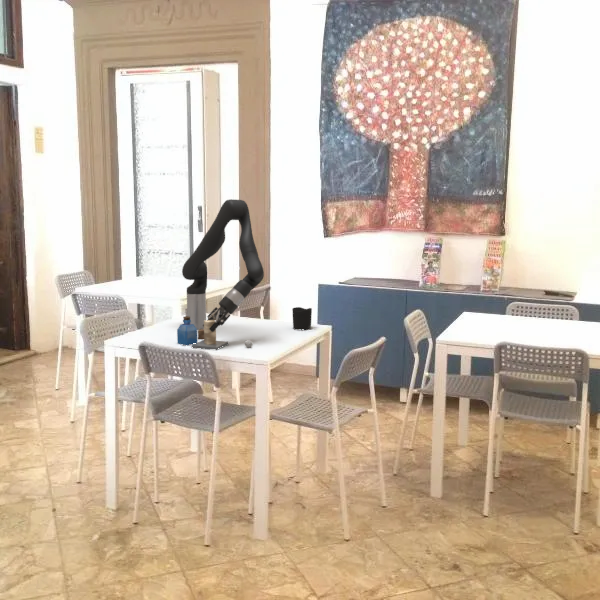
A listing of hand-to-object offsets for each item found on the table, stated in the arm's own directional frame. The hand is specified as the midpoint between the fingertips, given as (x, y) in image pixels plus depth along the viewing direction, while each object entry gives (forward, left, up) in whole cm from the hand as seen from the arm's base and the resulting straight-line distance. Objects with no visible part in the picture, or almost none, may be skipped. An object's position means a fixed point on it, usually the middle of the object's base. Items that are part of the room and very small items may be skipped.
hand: (207, 328), depth 319 cm
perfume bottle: (-11, +3, -8) cm, 14 cm away
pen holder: (+27, +51, -8) cm, 58 cm away
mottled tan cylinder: (+1, +1, -7) cm, 7 cm away
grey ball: (+18, +4, -6) cm, 19 cm away
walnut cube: (-9, +15, -8) cm, 19 cm away
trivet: (+1, +1, -8) cm, 8 cm away
